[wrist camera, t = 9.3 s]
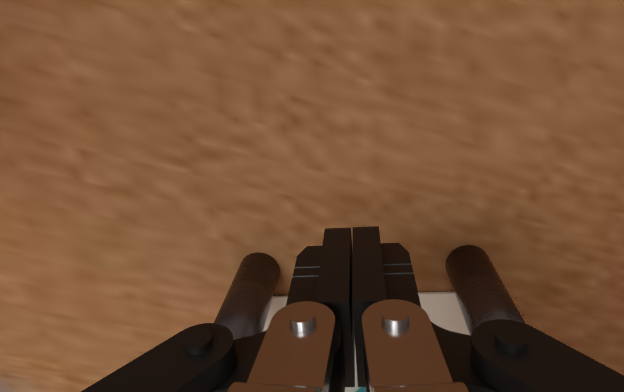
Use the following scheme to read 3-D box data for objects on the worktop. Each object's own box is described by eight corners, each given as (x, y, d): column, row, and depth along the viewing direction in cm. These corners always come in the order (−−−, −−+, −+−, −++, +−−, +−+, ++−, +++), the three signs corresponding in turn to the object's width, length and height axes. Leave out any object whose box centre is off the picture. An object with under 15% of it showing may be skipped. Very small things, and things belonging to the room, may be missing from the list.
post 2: (490, 244, 27) (551, 347, 18) (487, 281, 28) (544, 394, 19) (446, 246, 27) (486, 348, 19) (445, 282, 28) (483, 394, 20)
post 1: (277, 252, 28) (244, 350, 20) (281, 286, 29) (252, 394, 21) (237, 253, 29) (189, 350, 20) (243, 287, 29) (199, 394, 21)
